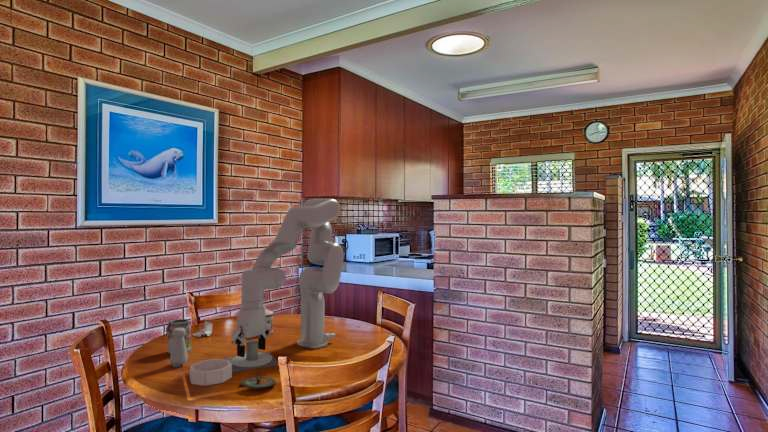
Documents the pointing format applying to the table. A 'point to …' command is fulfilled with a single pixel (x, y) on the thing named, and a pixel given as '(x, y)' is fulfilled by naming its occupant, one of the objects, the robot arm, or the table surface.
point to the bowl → (210, 372)
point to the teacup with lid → (269, 319)
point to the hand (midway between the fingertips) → (251, 352)
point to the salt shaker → (178, 348)
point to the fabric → (205, 330)
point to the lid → (252, 382)
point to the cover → (251, 357)
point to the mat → (236, 369)
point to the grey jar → (179, 324)
